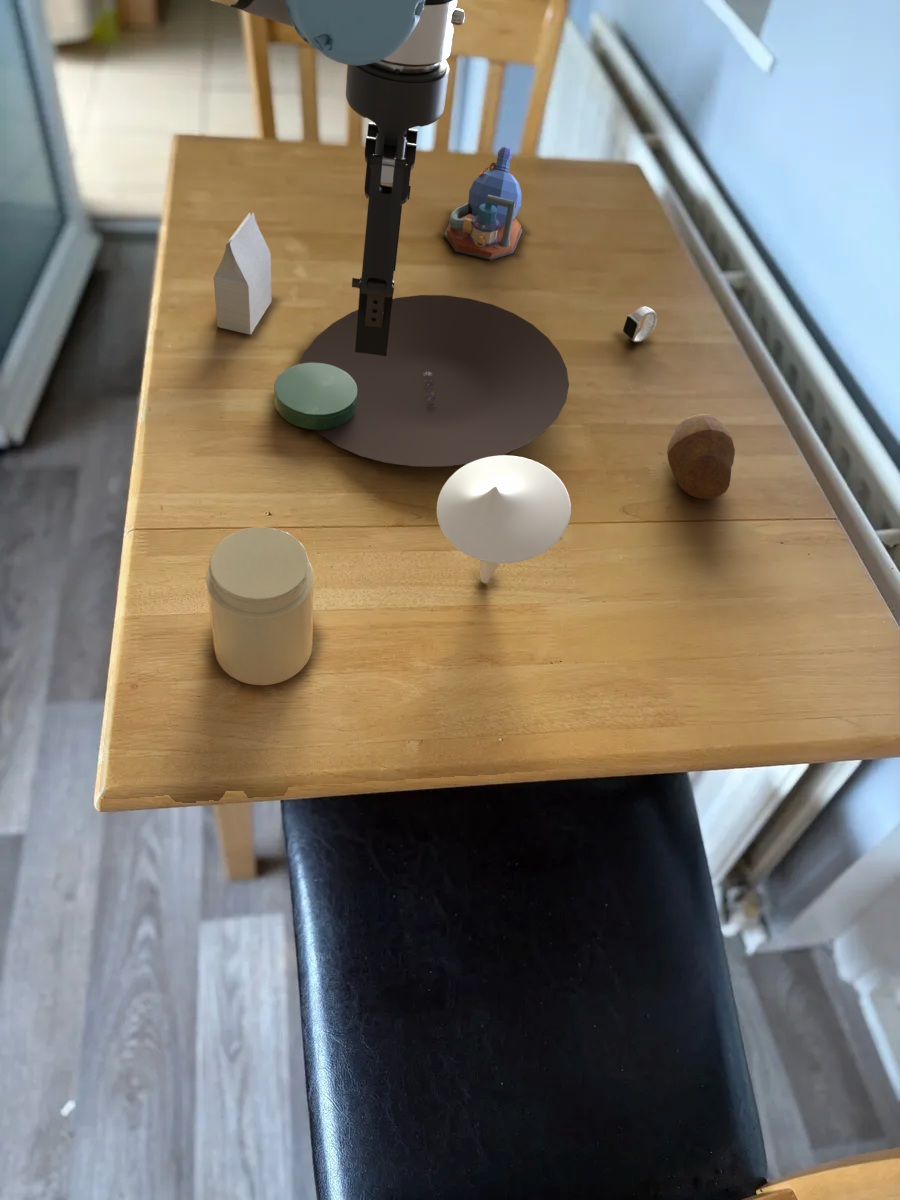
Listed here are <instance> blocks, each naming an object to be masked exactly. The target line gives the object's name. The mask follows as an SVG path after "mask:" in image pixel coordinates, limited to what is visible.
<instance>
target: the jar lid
mask: <svg viewBox="0 0 900 1200" xmlns="http://www.w3.org/2000/svg"><path fill="white" fill-rule="evenodd" d="M273 391H274V394H273V395H274V396H273V397H274V399H273V400H274V407H275V410H276V412H277V413H278V414H279V416H280V417H281V418H282V419H284V420H285V421H286V422H288V423H289V424H291V425H294V426H296V427H297V428H298V427H299V428H302V429H307V430H313V431H314V430H315V431H316V430H324V429H331V428H335V427H338V426H340V425H342V424H344V423H346V422H347V421H348V420H350V418H351V417H352V416H353V415H354V413H355V411H356V405H357V386H356V383H355V381H354V380H353V378H352V377H351V376H350V375H349V374H347V373H346V372H345V371H343V370H341V369H339V368H337V367H334V366H331V365H328V364H322V363H303V364H299V363H298V364H295V365H292V366H290V367H288V368H286V369H284V370H283V371H281V372H280V374H279V375H278V376H277V377H276V379H275V381H274V386H273Z"/></svg>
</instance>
